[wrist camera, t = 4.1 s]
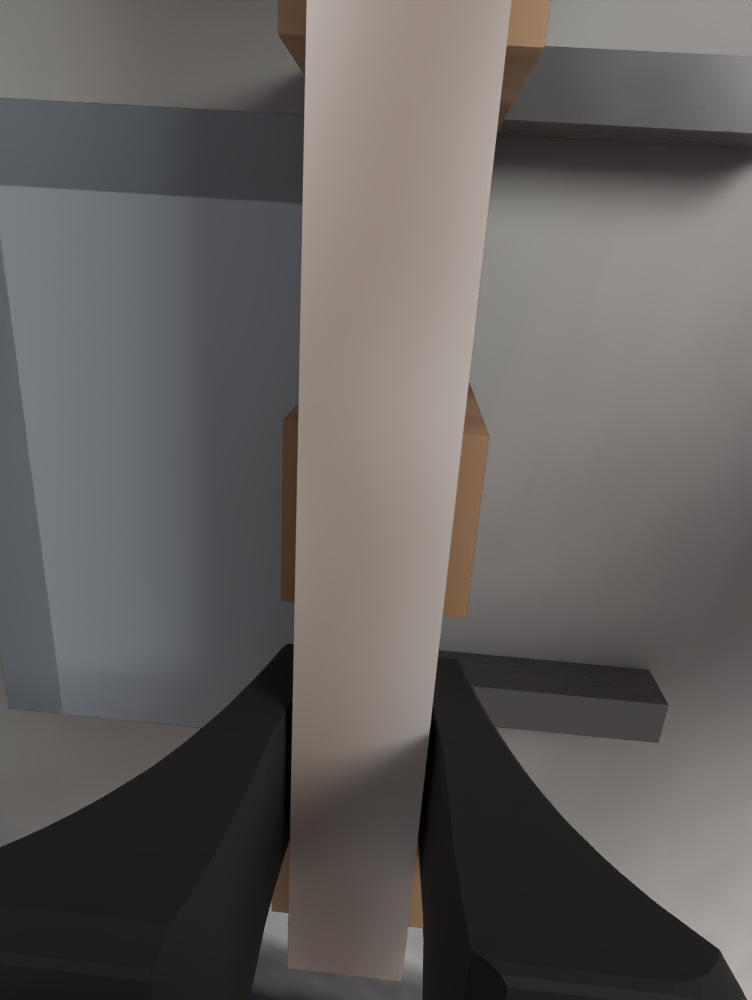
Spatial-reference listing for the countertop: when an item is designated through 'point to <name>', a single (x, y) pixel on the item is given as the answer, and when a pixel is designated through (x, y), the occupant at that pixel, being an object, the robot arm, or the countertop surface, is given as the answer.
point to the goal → (144, 403)
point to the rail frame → (632, 118)
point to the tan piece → (383, 437)
